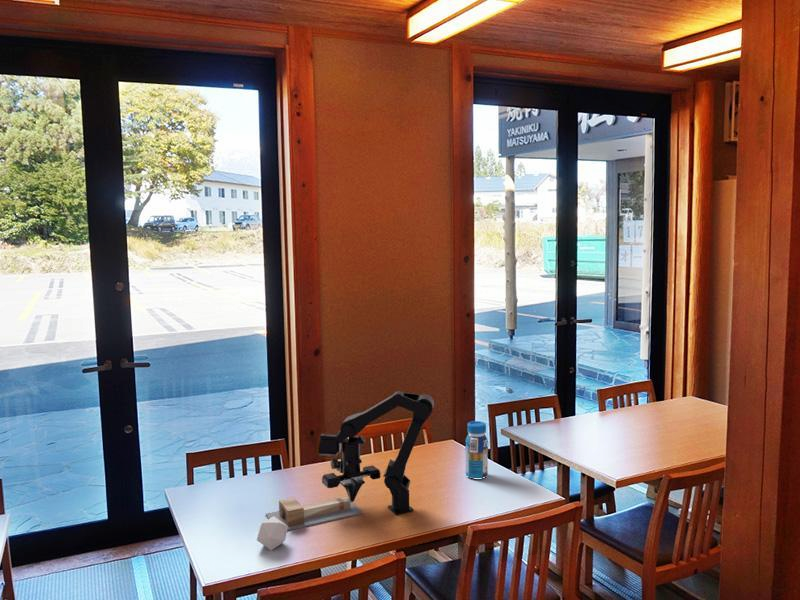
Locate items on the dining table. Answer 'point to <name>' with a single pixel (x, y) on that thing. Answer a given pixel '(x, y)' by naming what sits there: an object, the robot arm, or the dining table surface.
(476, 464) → the beverage bottle
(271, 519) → the die
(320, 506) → the pale wooden bar
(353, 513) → the felt mat
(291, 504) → the tan block
